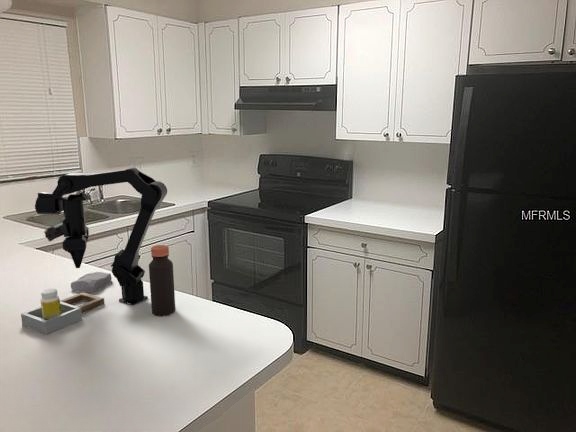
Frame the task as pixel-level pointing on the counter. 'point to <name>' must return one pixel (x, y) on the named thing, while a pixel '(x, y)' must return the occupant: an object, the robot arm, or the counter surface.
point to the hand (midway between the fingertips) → (79, 263)
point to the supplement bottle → (50, 304)
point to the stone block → (91, 282)
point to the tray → (36, 321)
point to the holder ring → (91, 299)
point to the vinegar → (161, 282)
